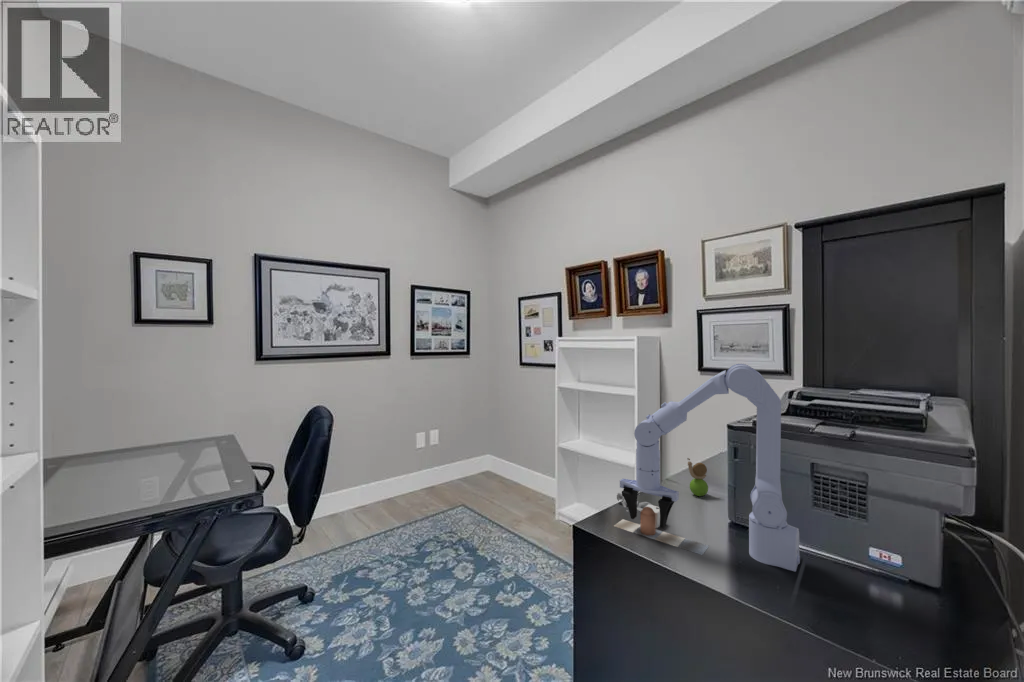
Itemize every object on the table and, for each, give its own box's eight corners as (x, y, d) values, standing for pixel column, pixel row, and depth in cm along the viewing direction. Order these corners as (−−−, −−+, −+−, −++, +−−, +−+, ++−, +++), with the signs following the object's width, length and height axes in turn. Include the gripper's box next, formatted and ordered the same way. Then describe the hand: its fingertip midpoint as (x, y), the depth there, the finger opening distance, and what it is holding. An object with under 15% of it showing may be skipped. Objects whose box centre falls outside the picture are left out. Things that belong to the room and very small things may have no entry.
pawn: (657, 531, 104) (657, 506, 104) (652, 536, 101) (652, 511, 101) (643, 527, 106) (643, 503, 106) (638, 532, 103) (638, 507, 103)
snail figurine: (683, 492, 132) (683, 455, 132) (702, 492, 133) (702, 455, 133) (692, 499, 127) (692, 460, 127) (712, 498, 128) (712, 460, 128)
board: (717, 540, 101) (717, 537, 101) (702, 560, 92) (702, 556, 92) (631, 515, 115) (631, 512, 115) (610, 530, 106) (610, 526, 106)
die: (663, 523, 109) (663, 507, 109) (657, 528, 106) (657, 512, 106) (648, 519, 111) (648, 503, 111) (642, 523, 108) (642, 508, 108)
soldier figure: (648, 525, 112) (609, 501, 119) (649, 531, 115) (611, 507, 122) (661, 501, 115) (622, 479, 122) (661, 507, 118) (624, 485, 125)
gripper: (682, 470, 102) (683, 525, 102) (628, 459, 111) (628, 509, 111) (672, 477, 96) (672, 535, 96) (615, 465, 106) (615, 517, 106)
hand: (648, 522), depth 103 cm, fingers open, 7 cm apart
